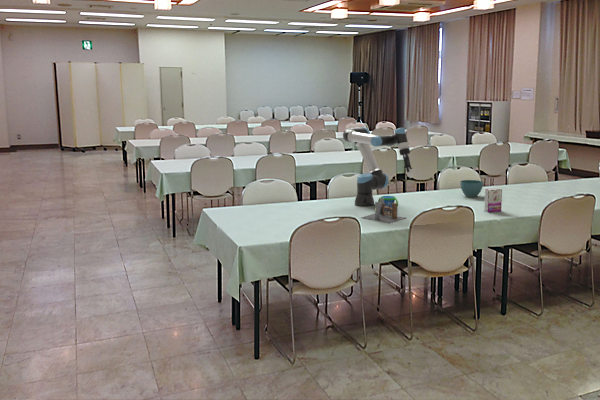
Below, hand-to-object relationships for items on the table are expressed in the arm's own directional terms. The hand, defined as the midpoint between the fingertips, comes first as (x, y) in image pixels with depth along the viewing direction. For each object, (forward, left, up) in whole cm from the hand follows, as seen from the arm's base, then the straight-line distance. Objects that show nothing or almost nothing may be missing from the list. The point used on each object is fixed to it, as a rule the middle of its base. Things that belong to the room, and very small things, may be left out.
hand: (410, 177), depth 417 cm
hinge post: (-6, -26, -25) cm, 36 cm away
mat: (+1, -33, -25) cm, 41 cm away
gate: (+2, -29, -24) cm, 38 cm away
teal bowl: (+9, +78, -25) cm, 82 cm away
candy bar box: (+47, +37, -25) cm, 64 cm away
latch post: (+1, -41, -25) cm, 48 cm away
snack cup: (-11, -11, -25) cm, 29 cm away
